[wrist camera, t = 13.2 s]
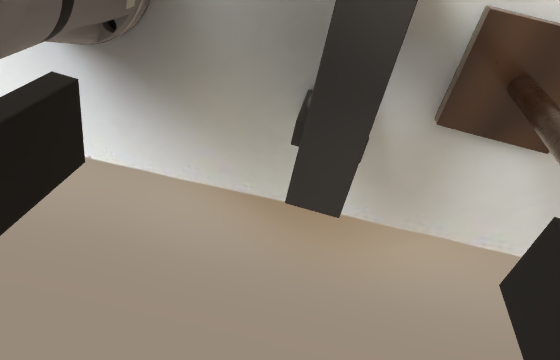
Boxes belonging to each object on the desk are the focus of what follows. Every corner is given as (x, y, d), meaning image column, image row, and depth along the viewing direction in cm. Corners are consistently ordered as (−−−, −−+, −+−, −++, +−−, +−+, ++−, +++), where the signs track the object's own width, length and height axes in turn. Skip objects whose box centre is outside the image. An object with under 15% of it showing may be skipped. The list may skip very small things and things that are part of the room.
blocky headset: (300, 120, 40) (271, 199, 29) (350, -83, 30) (334, -80, 19) (359, 135, 40) (352, 222, 29) (429, -64, 30) (459, -50, 19)
